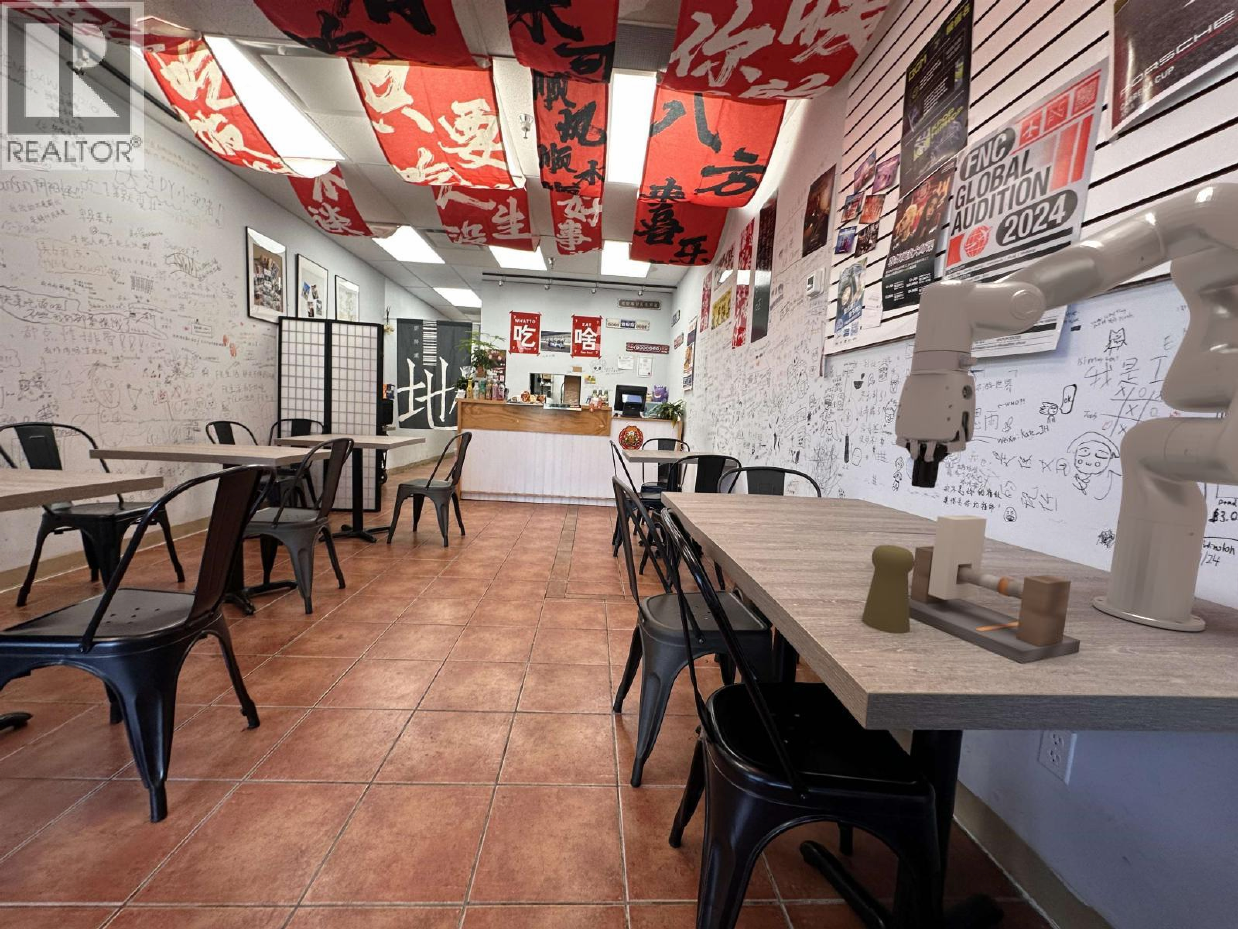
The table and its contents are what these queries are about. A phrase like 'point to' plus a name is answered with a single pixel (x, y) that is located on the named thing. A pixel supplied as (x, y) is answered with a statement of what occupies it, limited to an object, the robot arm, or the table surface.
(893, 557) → the olive green pawn
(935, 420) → the robot arm
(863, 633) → the table surface
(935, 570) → the collar
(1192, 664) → the table surface
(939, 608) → the rod board
